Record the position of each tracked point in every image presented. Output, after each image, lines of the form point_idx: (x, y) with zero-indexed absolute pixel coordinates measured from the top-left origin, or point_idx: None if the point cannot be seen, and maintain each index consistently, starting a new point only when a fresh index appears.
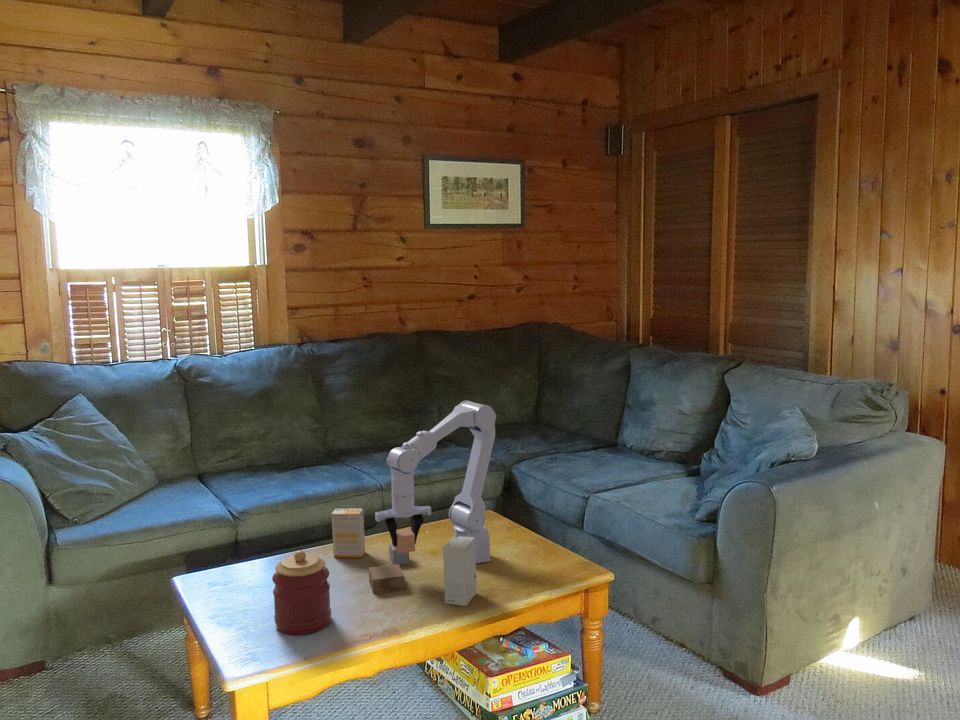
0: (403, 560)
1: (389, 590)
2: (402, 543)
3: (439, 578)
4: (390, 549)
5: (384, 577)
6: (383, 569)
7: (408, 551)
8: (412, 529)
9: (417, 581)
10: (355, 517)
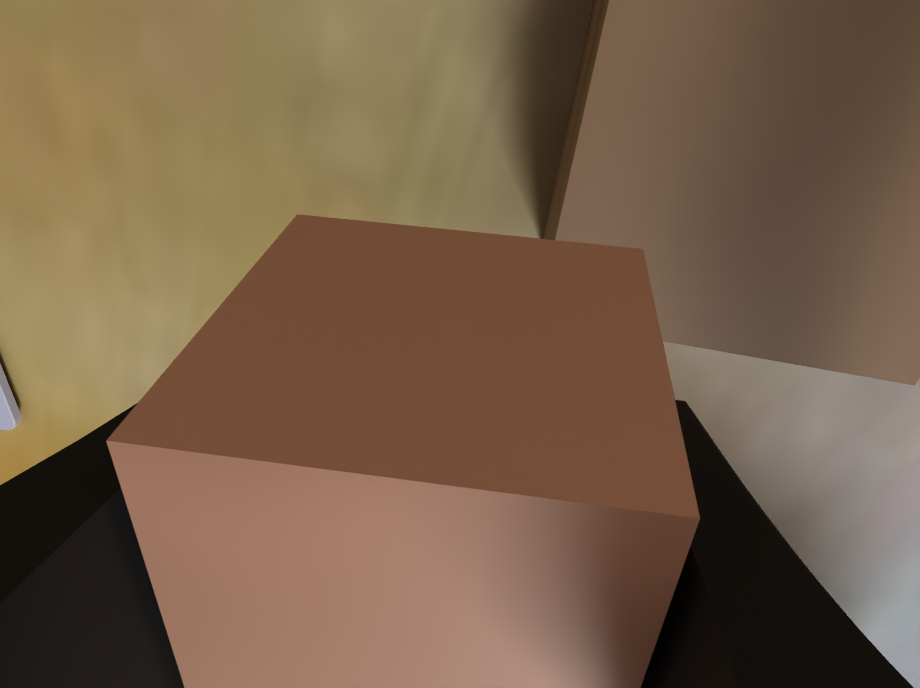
0: None
1: None
2: (539, 345)
3: (147, 19)
4: None
5: None
6: (789, 254)
7: (424, 232)
8: (128, 680)
9: (397, 54)
10: None
